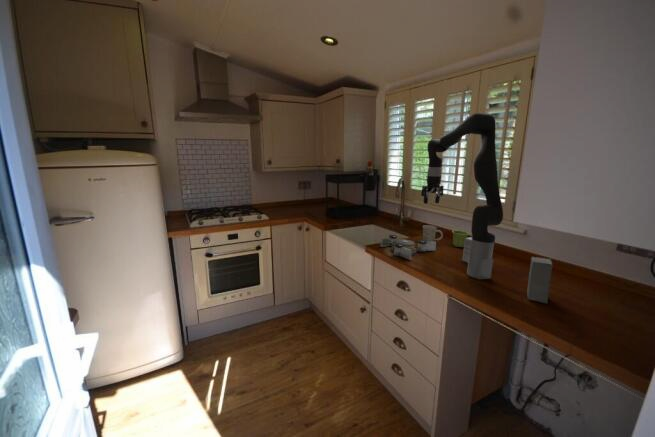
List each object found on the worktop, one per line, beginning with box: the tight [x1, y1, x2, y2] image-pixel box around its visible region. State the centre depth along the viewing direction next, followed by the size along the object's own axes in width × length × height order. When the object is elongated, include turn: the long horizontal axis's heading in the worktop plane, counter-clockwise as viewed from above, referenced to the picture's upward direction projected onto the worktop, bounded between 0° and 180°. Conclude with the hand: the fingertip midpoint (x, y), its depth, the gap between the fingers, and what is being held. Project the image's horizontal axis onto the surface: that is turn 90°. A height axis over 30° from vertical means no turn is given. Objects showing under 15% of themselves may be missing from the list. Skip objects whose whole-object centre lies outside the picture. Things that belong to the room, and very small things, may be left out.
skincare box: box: [526, 256, 554, 304], centre depth 116 cm, size 8×7×16 cm
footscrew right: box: [417, 239, 437, 253], centre depth 170 cm, size 11×5×6 cm, turn 103°
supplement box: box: [461, 236, 472, 264], centre depth 154 cm, size 7×7×13 cm
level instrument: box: [391, 238, 418, 255], centre depth 169 cm, size 14×14×6 cm
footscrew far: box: [380, 234, 398, 248], centre depth 176 cm, size 11×5×6 cm, turn 118°
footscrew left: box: [393, 243, 413, 260], centre depth 158 cm, size 11×5×6 cm, turn 33°
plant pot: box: [451, 230, 470, 248], centre depth 182 cm, size 9×9×9 cm
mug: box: [422, 224, 444, 242], centre depth 187 cm, size 8×13×10 cm, turn 82°
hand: (431, 203), depth 172 cm, fingers open, 8 cm apart
